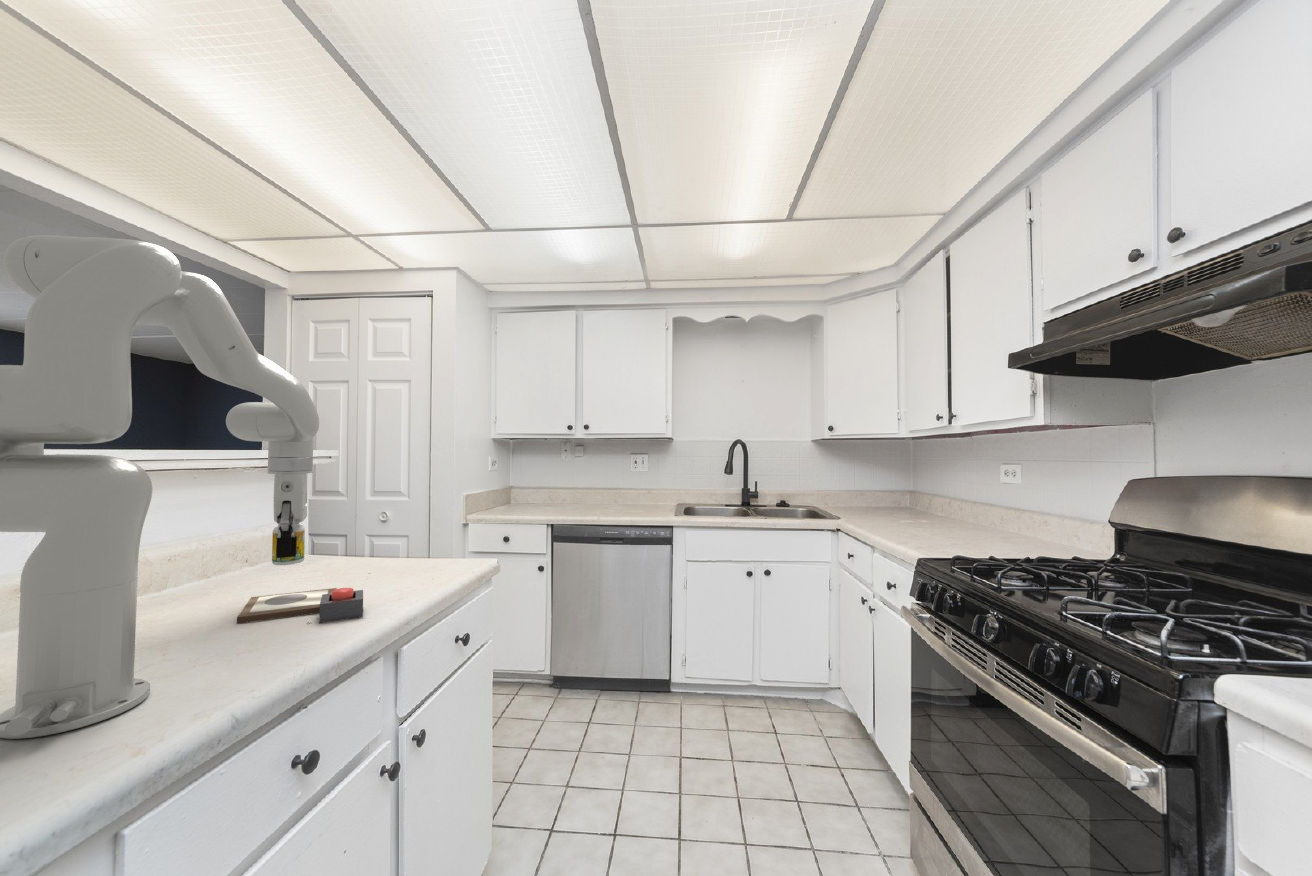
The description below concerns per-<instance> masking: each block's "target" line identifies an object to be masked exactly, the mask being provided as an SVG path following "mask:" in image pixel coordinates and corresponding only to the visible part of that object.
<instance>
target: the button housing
mask: <svg viewBox="0 0 1312 876" xmlns="http://www.w3.org/2000/svg"><path fill="white" fill-rule="evenodd" d="M363 614H364V590H363V589H358V590H353V598H352V599H344V600H335V601H332V593H331V594H322V598H321V602H320V613H319V615H318V616H319V618H318V619H319V620H318V622H319V624H322V623H330V622H337V621H344V620H351V619H357V618H363V617H364V616H363Z"/></svg>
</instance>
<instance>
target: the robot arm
mask: <svg viewBox="0 0 1312 876" xmlns="http://www.w3.org/2000/svg"><path fill="white" fill-rule="evenodd" d="M3 266H4V269H5V272H6V274H7V275H8V277H9V278H10V280H11V281H12V282H13V283H14V284H15V285H16V286H17V287H18V288H19V289H21V291H23V292H25V293H26V294H28V295H30V296H31V297H33V298H35V300H34V301H33V303H32V304H31V306H30V308H29V310H28V312H27V314H26V317H25V318H26V319H25V323H24V340H23V341H24V342H23V343H24V344H23V362H22V364H21V365H20V364H19V365H18V364H16V365H15V364H14V365H13V364H0V533H44V536H43V537H42V539H41V540H40V542H39V543H38V544H37V545H36V547H35V548H34V550H33V551H32V552H31V553H30V555H29V556H28V558H27V559H26V561H25V563H24V566H23V568H22V570H21V575H20V582H19V583H20V584H19V585H20V586H19V593H20V594H19V596H20V599H19V617H18V636H17V637H18V640H17V663H16V664H17V666H16V683H15V704H14V705H13V706H11V707H10V708H8V709H7V710H5V711H3V712H2V713H1V714H0V738H2V739H8V740H10V739H13V740H15V739H16V740H21V739H33V738H38V737H44V736H46V737H47V736H50V735H56V734H60V733H64V732H69V731H72V730H73V731H74V730H77V729H79V728H83V727H87V726H90V725H94V724H98V723H99V722H102V721H105V720H107V719H110V718H113V717H115V716H117V715H120V714H122V713H124V712H127V711H129V710H131V709H133V708H134V707H135V706H138V705H139V704H141V703H142V702H143V701H145V699H147V698H148V697H149V695H150V693H151V684H150V682H149V681H148V680H145V679H142V678H136V677H135V676H134V675H135V655H136V654H135V653H136V625H137V606H138V605H137V603H138V601H137V599H138V581H139V580H138V574H139V572H138V571H139V555H140V545H141V538H142V533H143V529H144V524H145V522H146V521H145V520H146V517H147V515H148V511H149V508H150V505H151V501H152V497H153V483H152V479H151V478H150V475H149V474H148V473H147V471H146V470H145V469H144V468H143V467H141V466H140V465H138V464H137V463H135V462H133V461H130V460H129V459H128V460H127V459H125V458H121V457H116V456H111V455H103V454H102V455H101V454H100V455H99V454H68V453H67V454H66V453H65V454H64V453H63V454H60V453H59V454H58V453H57V454H45V450H44V449H45V448H44V447H45V444H48V445H49V444H52V445H57V444H58V445H67V444H68V445H84V444H85V445H86V444H87V445H90V444H92V445H93V444H100V443H101V444H102V443H107V442H112V441H114V440H116V439H118V438H121V437H122V436H123V435H124V434H125V433H126V432H127V431H128V430H129V428H130V426H131V424H132V417H133V396H132V395H133V394H132V392H133V391H132V367H131V366H132V365H131V349H132V348H131V347H132V346H131V344H132V343H131V342H132V337H133V332H134V330H135V328H136V326H150V327H151V326H154V327H165V328H168V329H169V330H170V331H171V333H172V334H173V336H175V338H176V339H177V341H178V343H179V344H180V345H181V347H182V348H183V350H184V351H185V352H186V354H187V356H188V357H189V358H190V360H191V361H192V363H193V364H194V365H195V368H196V369H197V370H198V371H199V372H200V373H201V374H203V375H204V376H205V377H206V376H207V377H208V378H210V379H213V380H215V381H218V382H221V383H222V384H226V385H229V386H232V387H236V388H239V389H241V390H245V391H247V392H251V393H254V394H256V395H258V396H259V397H262V398H264V399H266V400H268V402H265V401H264V402H263V401H261V402H260V401H259V402H258V401H254V402H253V401H252V402H251V401H250V402H249V401H247V402H243V403H239V404H237V405H235V406H233V407H232V408H231V409H230V410H229V411H228V412H227V415H226V418H225V424H226V428H227V430H228V431H229V433H230V434H231V435H232V436H233V437H235V438H237V439H240V440H242V441H246V442H247V441H248V442H264V443H265V442H268V448H267V450H268V451H267V474H269V475H274V478H273V480H274V482H273V521H274V523H278V524H277V526H278V538H277V544H276V557H277V558H284V557H294V556H296V545H297V536H295V528H296V520H300V523H302V522H304V521H305V519H306V518H308V476H307V475H308V474H313V472H314V471H313V469H314V467H313V466H314V437H315V436H316V435H317V433H318V432H319V428H320V418H319V413H318V411H317V408H316V405H315V404H314V402H313V400H312V398H311V396H310V393H309V392H308V390H307V389H306V387H305V386H304V385H303V384H302V382H301V381H299V379H297V378H296V376H293V374H292V373H290V372H288V371H287V370H285V369H284V368H283V367H281V366H280V365H278V364H277V363H275V362H274V361H272V360H270V359H268V357H266V356H263V354H261V353H259V352H258V351H257V350H256V348H255V347H254V345H253V343H252V341H251V339H250V338H249V336H248V334H247V332H246V331H245V329H244V328H243V326H242V324H241V322H240V321H239V319H238V317H237V315H236V313H235V312H234V309H233V308H232V306H231V304H230V303H229V301H228V299H227V297H226V296H225V294H224V293H223V291H222V289H221V288H220V287H219V285H218V284H217V283H216V282H215V281H213V280H212V279H211V278H210V277H207V276H205V275H202V274H199V273H196V272H189V271H182V266H181V262H180V261H179V259H178V258H177V257H176V256H175V255H174V254H173V253H172V252H171V251H170V250H168V249H167V248H165V247H163V246H161V245H158V244H156V243H152V242H147V241H143V240H136V239H130V238H129V239H128V238H115V237H112V238H111V237H93V236H89V237H88V236H85V237H84V236H69V235H55V234H53V235H49V234H46V235H45V234H40V235H39V234H38V235H37V234H36V235H28V236H24V237H21V238H18V239H16V240H13V242H12V243H10V244H9V245H8V247H7V248H6V250H5V251H4V254H3ZM278 516H279V518H277V517H278ZM289 519H293V521H289ZM277 520H279V521H277ZM291 525H292V526H291ZM291 529H292V530H291Z"/></svg>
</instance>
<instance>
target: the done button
mask: <svg viewBox="0 0 1312 876" xmlns="http://www.w3.org/2000/svg"><path fill="white" fill-rule="evenodd" d="M353 591H354V588H353V587H341V588H337V589H335V590H333V591H332V601H335V600H344V599H352V598H353Z"/></svg>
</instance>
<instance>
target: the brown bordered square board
mask: <svg viewBox="0 0 1312 876" xmlns="http://www.w3.org/2000/svg"><path fill="white" fill-rule="evenodd" d="M335 589H338V588H337V587H333V588H332V587H331V588H323V589H313V590H305V591H298V592H297V591H295V592H289V593H288V592H287V593H277V594H269V595H259V596H251V597H250V599H249V600H248V601H247V603H246V604H245V606H244V607H243V608H242V610H241V611H240V612H239V614H238V615H237V617H236V624H246V623H253V622H261V621H268V620H269V621H270V620H276V619H284V618H293V617H301V616H308V615H315V614H320V602H321V598H322V594H331V593H332V591H333V590H335Z"/></svg>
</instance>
